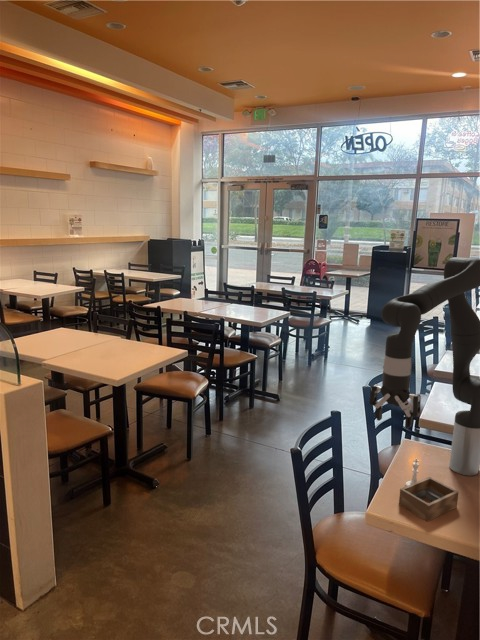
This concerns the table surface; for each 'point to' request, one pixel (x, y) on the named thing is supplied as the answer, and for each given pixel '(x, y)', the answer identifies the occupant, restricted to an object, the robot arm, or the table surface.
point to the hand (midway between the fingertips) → (392, 423)
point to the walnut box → (432, 490)
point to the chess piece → (414, 473)
